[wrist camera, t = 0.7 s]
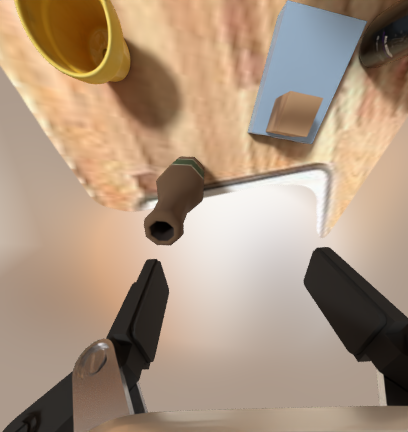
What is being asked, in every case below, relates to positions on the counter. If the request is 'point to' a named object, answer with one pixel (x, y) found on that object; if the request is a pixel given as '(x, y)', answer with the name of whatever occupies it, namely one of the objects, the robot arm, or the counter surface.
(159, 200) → the beer bottle
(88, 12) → the plant pot
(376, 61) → the supplement bottle
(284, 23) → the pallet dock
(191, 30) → the counter surface
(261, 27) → the counter surface
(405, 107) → the counter surface
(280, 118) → the block
